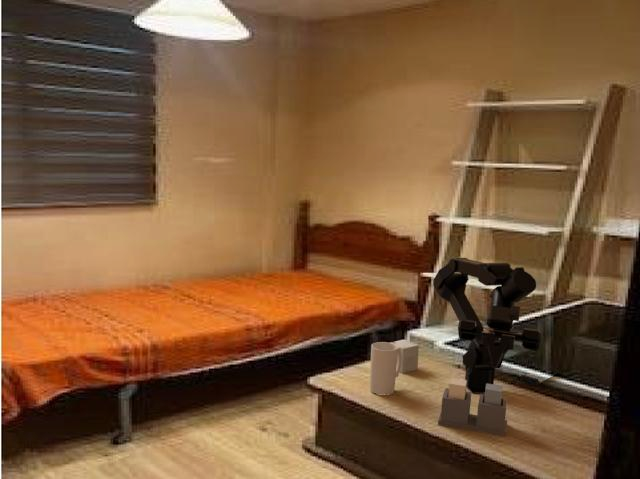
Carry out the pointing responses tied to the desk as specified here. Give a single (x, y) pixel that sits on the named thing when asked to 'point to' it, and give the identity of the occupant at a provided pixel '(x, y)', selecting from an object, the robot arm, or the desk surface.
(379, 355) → the mug
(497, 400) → the slate key
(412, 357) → the skincare box
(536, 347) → the robot arm
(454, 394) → the beige block
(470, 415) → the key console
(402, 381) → the desk surface
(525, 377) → the multiport hub
